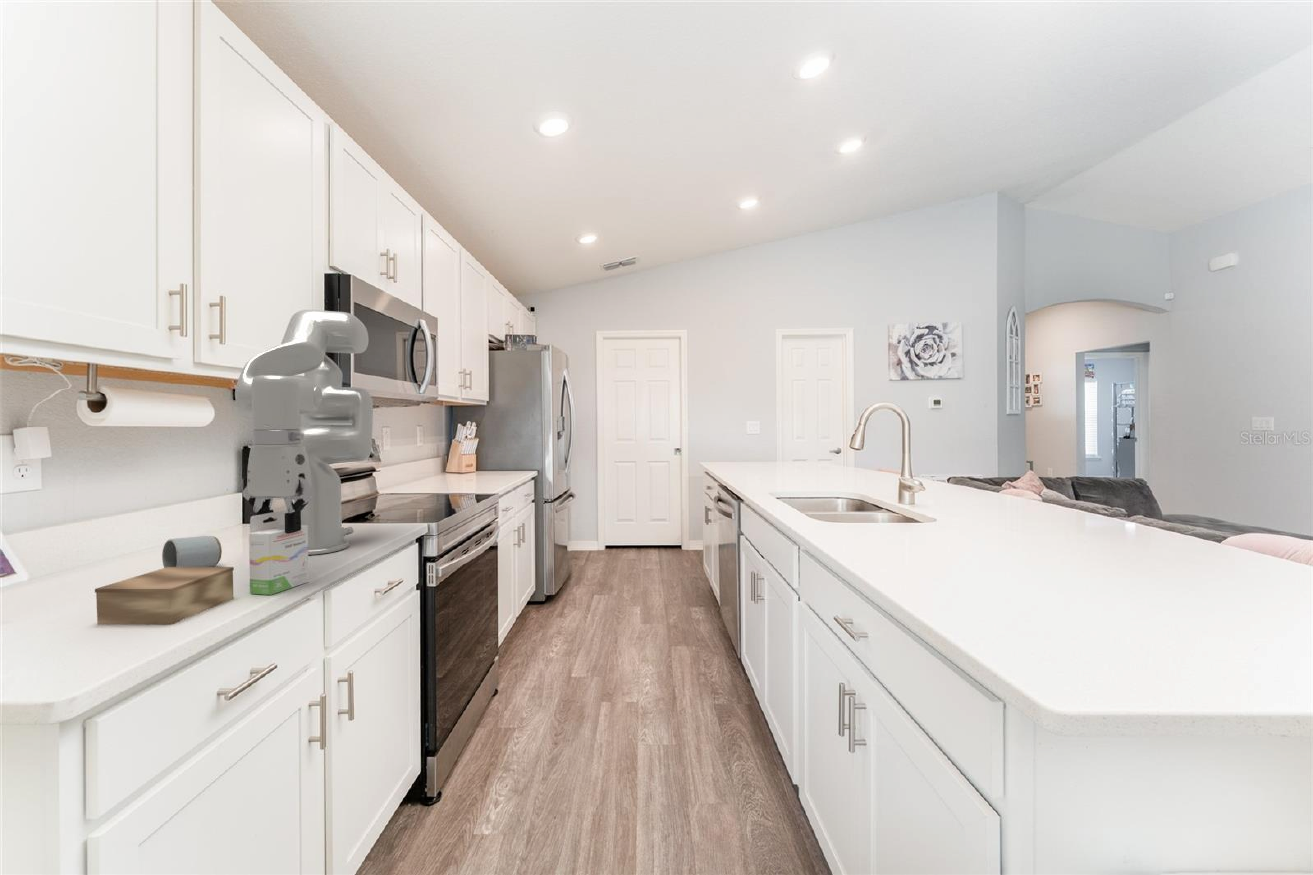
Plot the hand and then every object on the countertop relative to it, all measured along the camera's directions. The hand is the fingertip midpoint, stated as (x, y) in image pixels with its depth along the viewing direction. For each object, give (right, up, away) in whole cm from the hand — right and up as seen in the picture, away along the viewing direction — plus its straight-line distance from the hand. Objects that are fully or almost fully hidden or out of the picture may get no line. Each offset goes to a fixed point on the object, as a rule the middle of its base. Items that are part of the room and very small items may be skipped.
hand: (279, 530), depth 99 cm
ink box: (0, -11, 0) cm, 12 cm away
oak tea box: (-10, -12, -11) cm, 20 cm away
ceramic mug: (-29, -11, +12) cm, 33 cm away
